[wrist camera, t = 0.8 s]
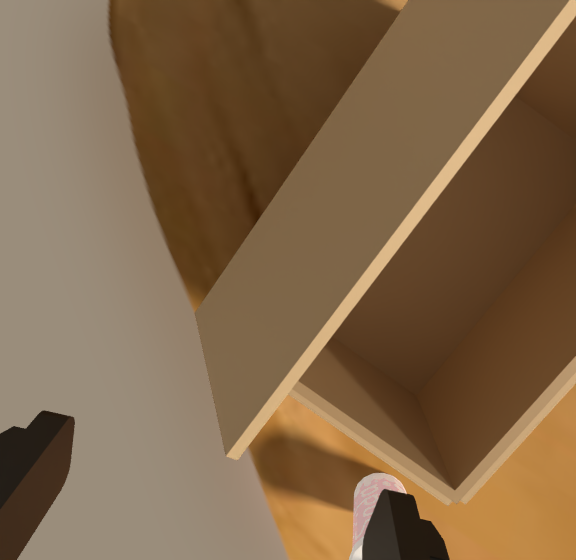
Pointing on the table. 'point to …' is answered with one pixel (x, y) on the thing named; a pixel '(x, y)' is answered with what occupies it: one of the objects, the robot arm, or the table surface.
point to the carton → (469, 306)
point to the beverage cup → (369, 505)
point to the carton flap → (363, 192)
